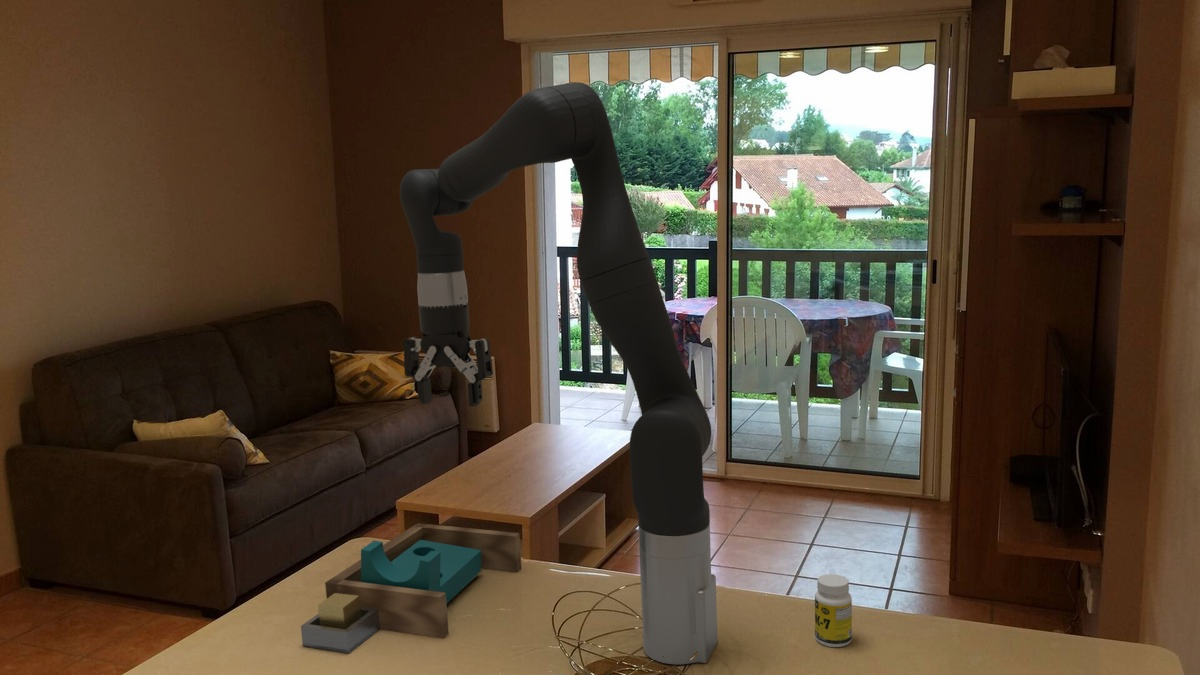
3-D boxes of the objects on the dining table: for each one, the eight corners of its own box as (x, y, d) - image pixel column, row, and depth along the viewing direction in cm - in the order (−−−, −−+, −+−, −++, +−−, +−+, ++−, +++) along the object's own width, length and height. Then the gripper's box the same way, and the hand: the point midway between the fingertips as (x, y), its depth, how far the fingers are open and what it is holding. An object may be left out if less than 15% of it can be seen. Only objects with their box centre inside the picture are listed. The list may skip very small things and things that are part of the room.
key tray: (380, 628, 137) (378, 609, 136) (348, 653, 130) (346, 632, 129) (336, 622, 139) (334, 603, 139) (302, 646, 132) (300, 625, 132)
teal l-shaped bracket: (428, 630, 137) (428, 561, 135) (361, 617, 140) (360, 549, 138) (480, 579, 154) (481, 518, 152) (419, 568, 157) (420, 508, 155)
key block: (346, 642, 132) (342, 607, 131) (321, 639, 133) (318, 605, 132) (362, 629, 136) (359, 595, 135) (337, 626, 137) (334, 593, 136)
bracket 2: (521, 568, 156) (519, 533, 155) (443, 638, 133) (440, 597, 132) (420, 557, 163) (417, 523, 162) (328, 621, 140) (325, 582, 139)
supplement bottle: (808, 635, 129) (807, 576, 128) (838, 628, 130) (837, 569, 129) (828, 651, 124) (828, 589, 123) (859, 643, 126) (859, 583, 125)
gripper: (389, 304, 146) (398, 408, 149) (472, 304, 141) (479, 412, 144) (416, 298, 153) (423, 397, 156) (496, 298, 148) (502, 400, 151)
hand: (450, 404), depth 150 cm, fingers open, 8 cm apart
